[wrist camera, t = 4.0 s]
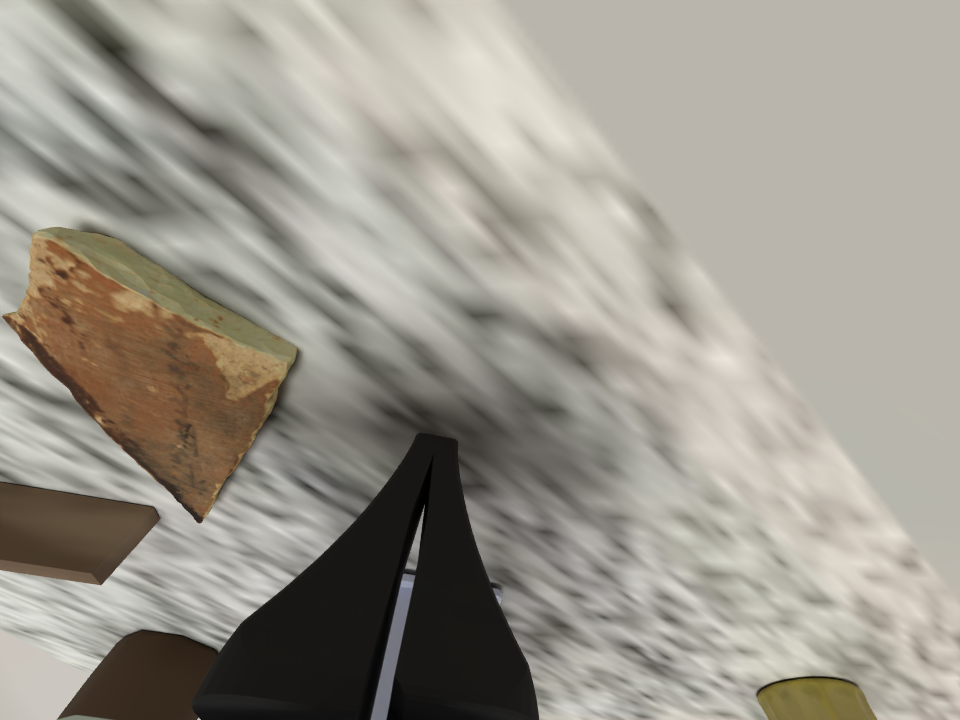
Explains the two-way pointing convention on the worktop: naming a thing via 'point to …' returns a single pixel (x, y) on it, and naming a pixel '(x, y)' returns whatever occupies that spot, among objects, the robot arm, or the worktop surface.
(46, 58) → the worktop surface
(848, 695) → the olive green rod
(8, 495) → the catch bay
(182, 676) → the beer bottle
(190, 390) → the shard
